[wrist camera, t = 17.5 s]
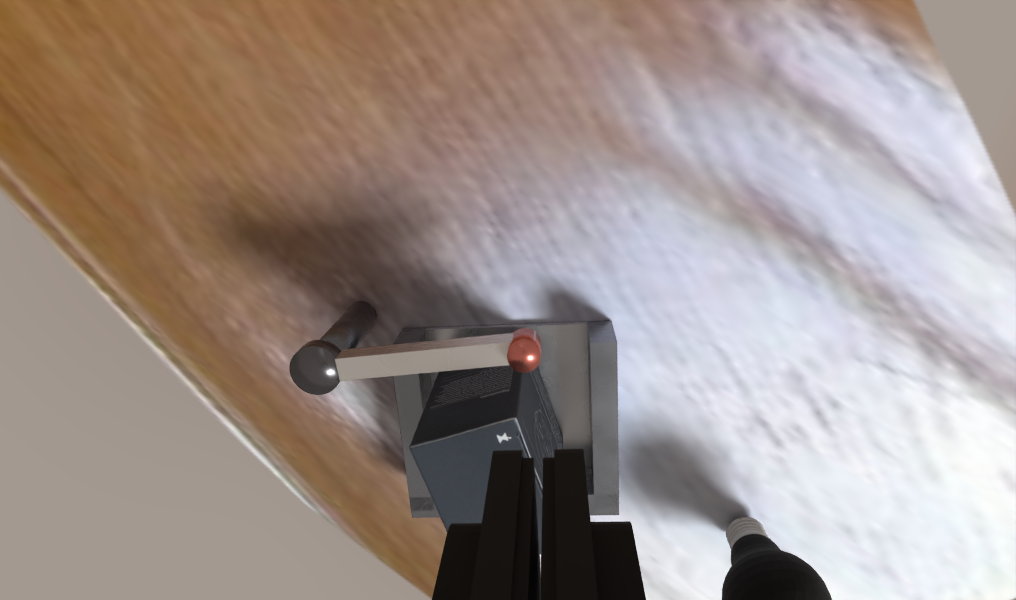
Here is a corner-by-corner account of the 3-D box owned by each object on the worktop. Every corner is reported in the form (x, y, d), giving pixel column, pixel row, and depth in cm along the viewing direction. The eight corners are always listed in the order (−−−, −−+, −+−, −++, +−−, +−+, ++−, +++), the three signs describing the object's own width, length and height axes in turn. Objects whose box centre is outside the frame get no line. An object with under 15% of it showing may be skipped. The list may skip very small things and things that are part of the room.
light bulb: (686, 550, 43) (724, 677, 34) (710, 479, 42) (757, 592, 32) (769, 566, 43) (830, 698, 34) (797, 496, 42) (870, 615, 32)
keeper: (346, 302, 39) (305, 344, 33) (610, 291, 38) (623, 333, 31) (374, 485, 43) (342, 556, 37) (613, 481, 42) (625, 554, 35)
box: (441, 357, 40) (405, 446, 30) (526, 331, 39) (518, 415, 29) (483, 460, 42) (463, 577, 32) (565, 438, 41) (570, 551, 31)
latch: (538, 317, 31) (537, 330, 29) (544, 365, 32) (543, 380, 30) (292, 341, 32) (278, 355, 31) (304, 387, 33) (290, 403, 31)
